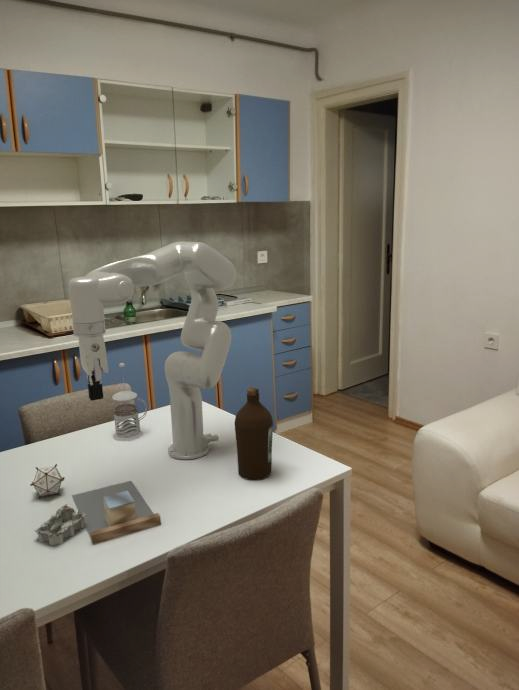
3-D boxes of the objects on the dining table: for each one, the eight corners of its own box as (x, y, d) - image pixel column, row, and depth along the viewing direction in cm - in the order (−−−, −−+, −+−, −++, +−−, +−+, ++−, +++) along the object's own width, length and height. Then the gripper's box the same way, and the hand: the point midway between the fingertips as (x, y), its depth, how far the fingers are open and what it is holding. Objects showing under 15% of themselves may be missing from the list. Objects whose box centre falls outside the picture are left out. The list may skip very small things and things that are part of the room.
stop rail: (158, 522, 135) (158, 512, 135) (161, 525, 134) (160, 516, 133) (91, 541, 128) (90, 532, 127) (93, 545, 127) (92, 535, 126)
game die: (54, 510, 149) (50, 494, 141) (25, 497, 149) (20, 480, 142) (73, 481, 154) (70, 464, 147) (45, 469, 155) (41, 452, 148)
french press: (112, 431, 190) (105, 360, 183) (146, 426, 193) (141, 357, 187) (113, 443, 180) (106, 368, 174) (150, 437, 184) (144, 364, 178)
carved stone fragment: (69, 517, 138) (67, 502, 137) (91, 524, 134) (89, 509, 133) (33, 540, 129) (30, 524, 128) (55, 549, 125) (52, 533, 124)
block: (134, 501, 133) (136, 524, 134) (127, 490, 138) (129, 512, 139) (109, 508, 130) (111, 531, 131) (103, 496, 135) (105, 519, 136)
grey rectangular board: (131, 481, 155) (131, 480, 155) (158, 522, 135) (158, 521, 135) (71, 496, 148) (71, 495, 148) (91, 541, 128) (91, 540, 128)
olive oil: (236, 482, 154) (233, 396, 147) (236, 464, 164) (233, 383, 158) (274, 480, 154) (273, 394, 148) (272, 463, 164) (271, 382, 158)
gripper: (112, 331, 132) (118, 405, 137) (97, 320, 145) (104, 388, 149) (79, 335, 129) (87, 410, 133) (67, 324, 141) (75, 393, 146)
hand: (96, 398), depth 141 cm, fingers closed
